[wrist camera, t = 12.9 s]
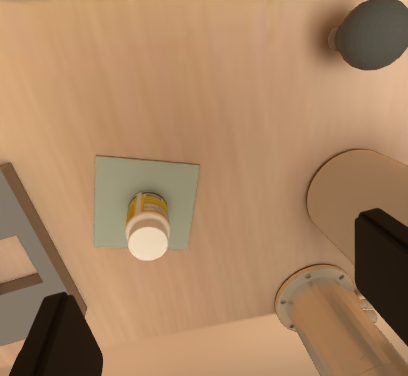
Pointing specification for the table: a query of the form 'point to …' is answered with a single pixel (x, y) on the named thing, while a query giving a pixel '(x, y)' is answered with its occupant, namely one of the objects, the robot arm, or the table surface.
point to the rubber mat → (135, 183)
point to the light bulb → (372, 34)
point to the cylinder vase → (356, 194)
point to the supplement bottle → (147, 226)
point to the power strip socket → (40, 257)
